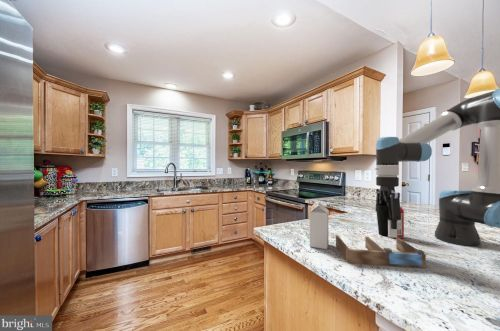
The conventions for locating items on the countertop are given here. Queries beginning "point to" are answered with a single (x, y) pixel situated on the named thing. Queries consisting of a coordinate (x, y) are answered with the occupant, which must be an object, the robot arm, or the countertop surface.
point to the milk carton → (319, 227)
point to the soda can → (400, 225)
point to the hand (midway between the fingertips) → (387, 233)
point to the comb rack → (383, 254)
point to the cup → (382, 219)
